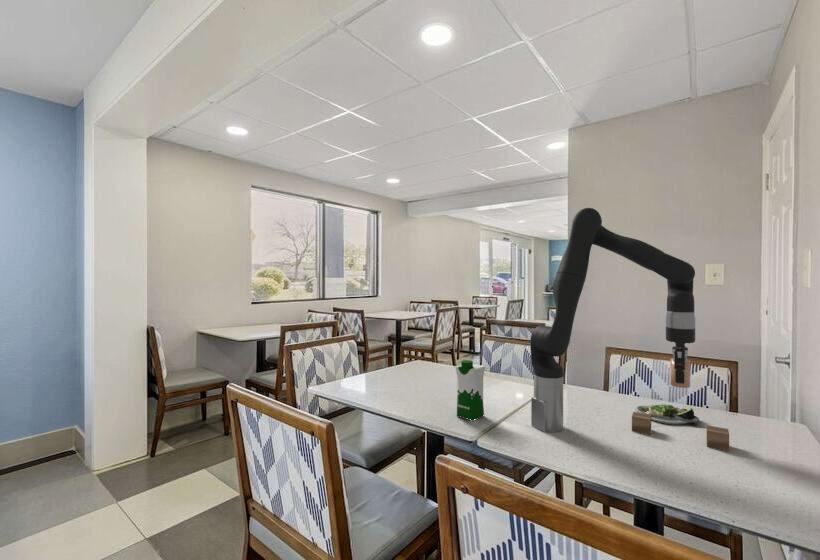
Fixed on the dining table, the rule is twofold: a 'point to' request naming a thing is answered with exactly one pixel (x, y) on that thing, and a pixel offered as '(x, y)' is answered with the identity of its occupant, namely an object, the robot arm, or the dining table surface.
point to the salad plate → (669, 414)
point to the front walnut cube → (717, 438)
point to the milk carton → (470, 390)
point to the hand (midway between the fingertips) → (680, 380)
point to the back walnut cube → (641, 423)
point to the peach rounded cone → (686, 375)
